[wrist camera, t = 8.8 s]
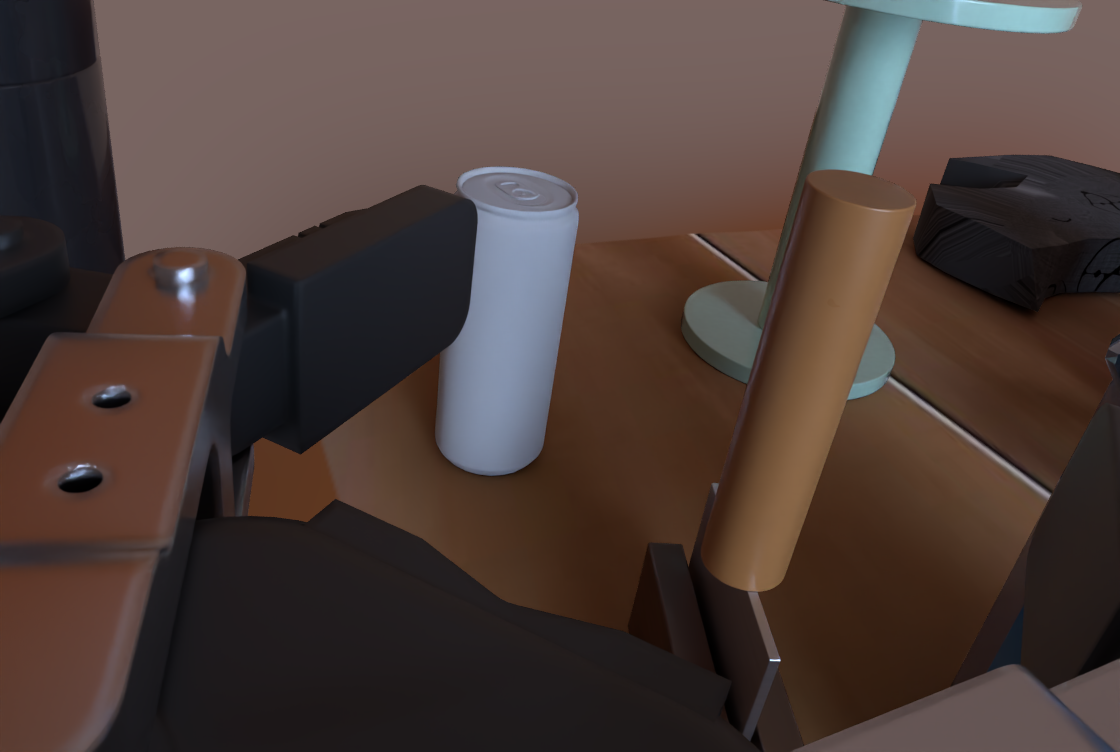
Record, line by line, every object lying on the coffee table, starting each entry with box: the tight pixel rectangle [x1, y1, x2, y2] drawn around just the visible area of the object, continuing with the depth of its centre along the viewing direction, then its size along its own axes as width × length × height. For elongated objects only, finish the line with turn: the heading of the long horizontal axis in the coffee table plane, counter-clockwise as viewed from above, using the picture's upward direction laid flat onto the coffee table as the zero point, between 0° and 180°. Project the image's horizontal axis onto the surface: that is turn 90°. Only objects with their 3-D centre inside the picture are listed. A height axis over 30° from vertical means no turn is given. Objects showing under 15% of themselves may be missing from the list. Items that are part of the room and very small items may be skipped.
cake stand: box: [681, 0, 1082, 400], centre depth 48 cm, size 16×16×20 cm
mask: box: [913, 155, 1120, 312], centre depth 70 cm, size 21×5×28 cm
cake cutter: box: [688, 169, 916, 741], centre depth 25 cm, size 2×7×18 cm, turn 4°
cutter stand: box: [628, 543, 804, 752], centre depth 28 cm, size 3×8×4 cm, turn 4°
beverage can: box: [435, 166, 579, 476], centre depth 37 cm, size 5×5×12 cm
